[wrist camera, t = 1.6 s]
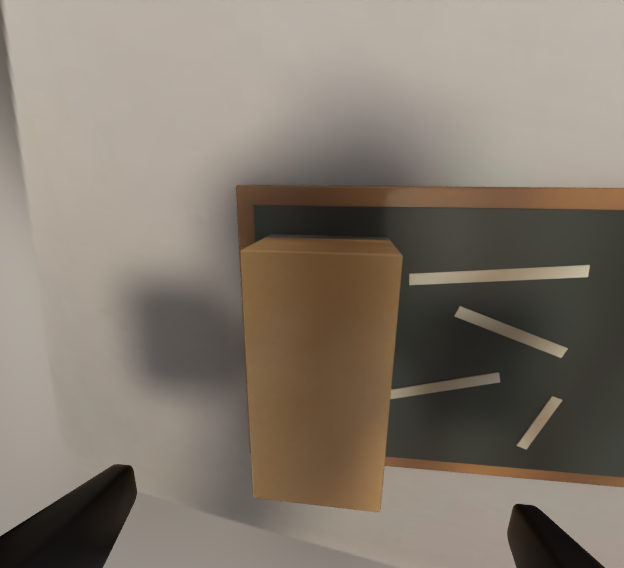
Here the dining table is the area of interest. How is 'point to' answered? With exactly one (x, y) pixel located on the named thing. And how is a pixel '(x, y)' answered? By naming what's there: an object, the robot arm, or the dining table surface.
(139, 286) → the dining table surface
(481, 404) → the slate board
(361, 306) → the eraser
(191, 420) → the dining table surface
